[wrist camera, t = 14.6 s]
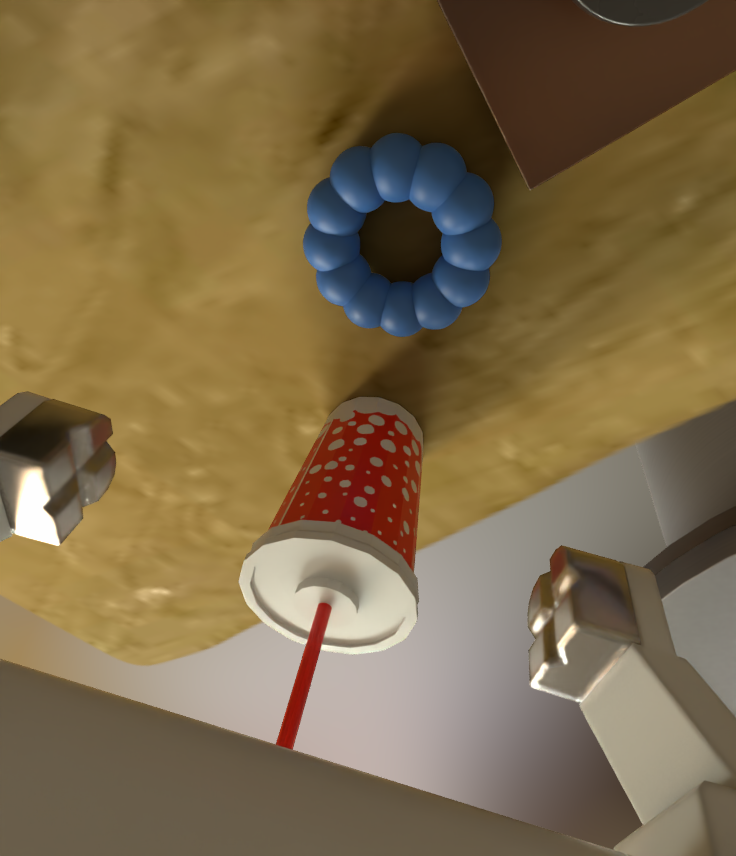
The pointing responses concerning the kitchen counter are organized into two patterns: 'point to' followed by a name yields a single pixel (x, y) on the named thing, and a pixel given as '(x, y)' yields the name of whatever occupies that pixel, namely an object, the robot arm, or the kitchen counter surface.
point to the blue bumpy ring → (428, 190)
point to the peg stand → (587, 68)
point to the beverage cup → (343, 543)
